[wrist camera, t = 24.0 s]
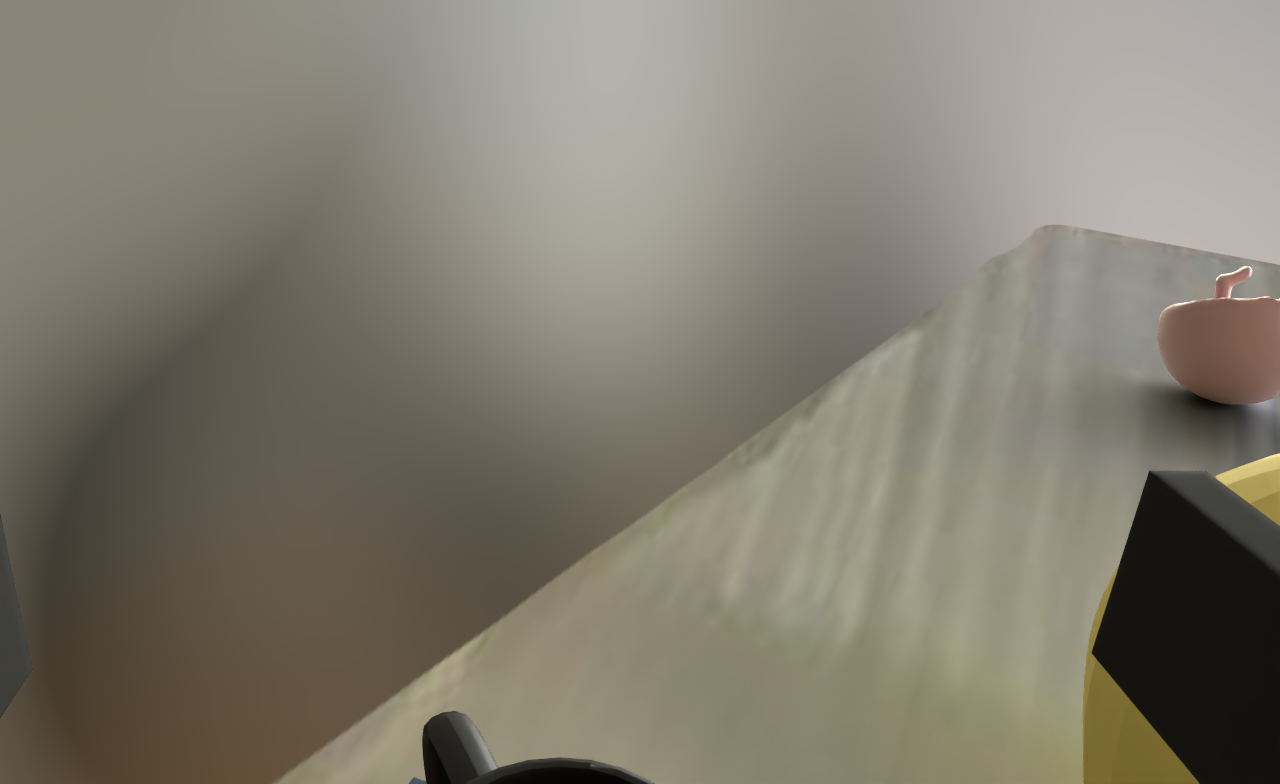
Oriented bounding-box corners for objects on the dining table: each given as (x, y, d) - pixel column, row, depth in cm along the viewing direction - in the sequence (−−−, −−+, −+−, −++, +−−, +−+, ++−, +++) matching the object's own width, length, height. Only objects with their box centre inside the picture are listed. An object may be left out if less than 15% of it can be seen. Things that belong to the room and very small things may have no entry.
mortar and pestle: (1245, 376, 92) (1286, 257, 88) (1327, 432, 81) (1378, 299, 77) (1118, 368, 92) (1152, 247, 87) (1183, 423, 81) (1226, 288, 76)
